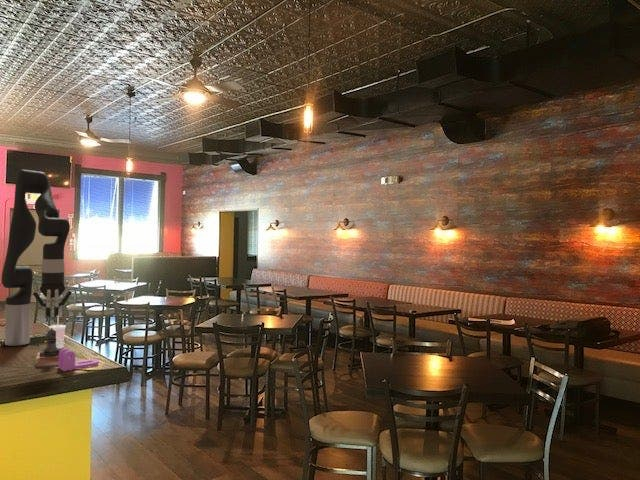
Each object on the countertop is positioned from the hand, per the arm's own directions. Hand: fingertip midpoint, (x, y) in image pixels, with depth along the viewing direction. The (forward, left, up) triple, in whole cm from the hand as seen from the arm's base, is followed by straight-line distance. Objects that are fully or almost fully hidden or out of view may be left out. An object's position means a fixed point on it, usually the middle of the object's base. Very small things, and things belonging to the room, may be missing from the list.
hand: (52, 316), depth 192 cm
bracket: (+10, +9, -17) cm, 22 cm away
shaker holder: (0, 0, -17) cm, 17 cm away
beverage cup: (-24, +3, -17) cm, 30 cm away
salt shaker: (0, 0, -16) cm, 16 cm away
